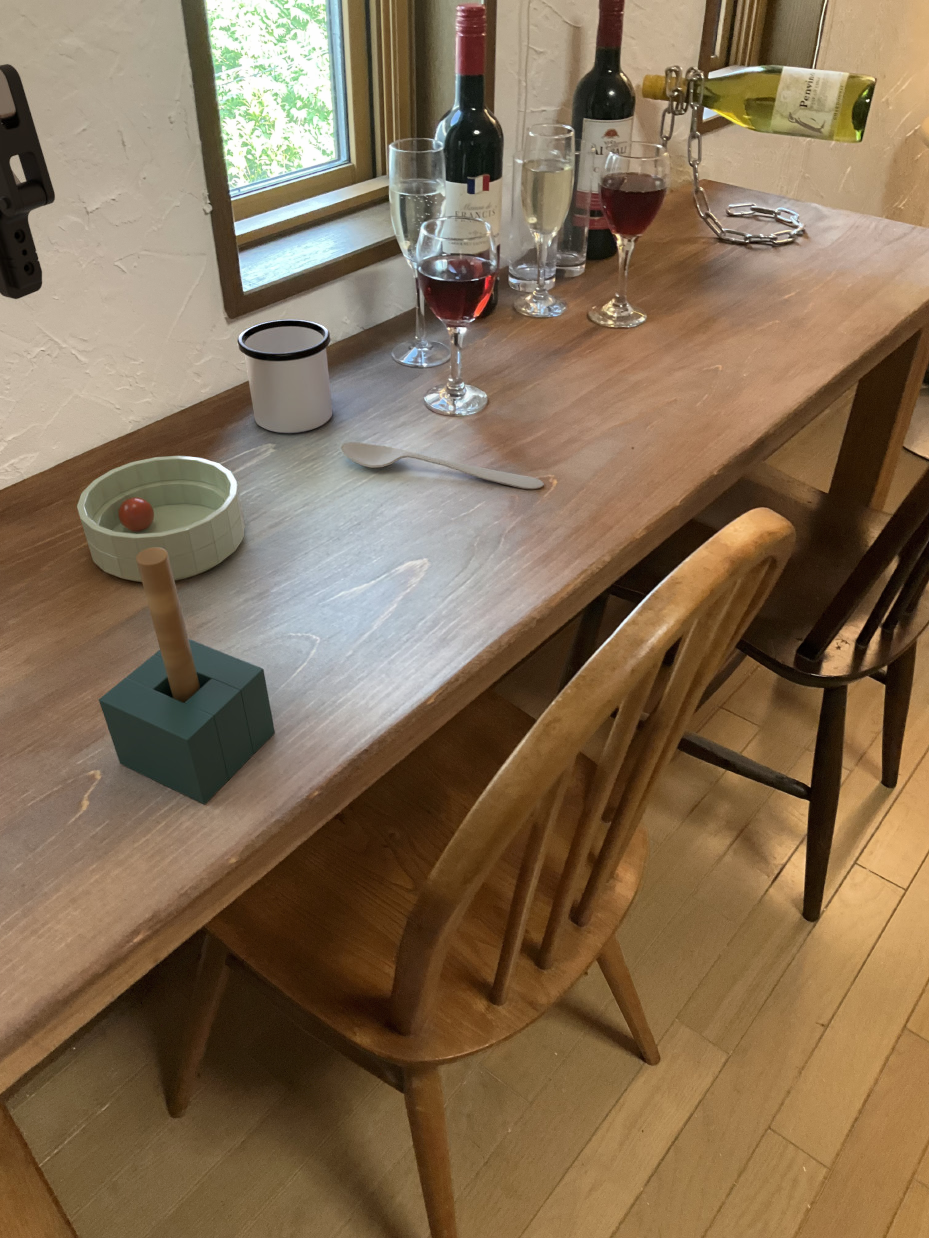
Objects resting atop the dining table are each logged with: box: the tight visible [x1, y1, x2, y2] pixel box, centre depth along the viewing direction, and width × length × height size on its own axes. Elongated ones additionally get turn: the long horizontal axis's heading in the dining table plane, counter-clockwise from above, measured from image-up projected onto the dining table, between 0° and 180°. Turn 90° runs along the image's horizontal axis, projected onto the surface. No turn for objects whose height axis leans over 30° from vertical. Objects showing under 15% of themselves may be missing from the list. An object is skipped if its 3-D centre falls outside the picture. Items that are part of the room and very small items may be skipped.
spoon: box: [340, 441, 545, 490], centre depth 94 cm, size 4×21×2 cm, turn 75°
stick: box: [136, 547, 200, 703], centre depth 61 cm, size 2×2×16 cm
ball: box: [118, 497, 154, 531], centre depth 85 cm, size 3×3×3 cm
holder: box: [98, 638, 276, 805], centre depth 64 cm, size 7×7×6 cm
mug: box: [236, 318, 333, 434], centre depth 102 cm, size 12×10×9 cm
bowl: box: [76, 455, 246, 583], centre depth 84 cm, size 13×13×5 cm
